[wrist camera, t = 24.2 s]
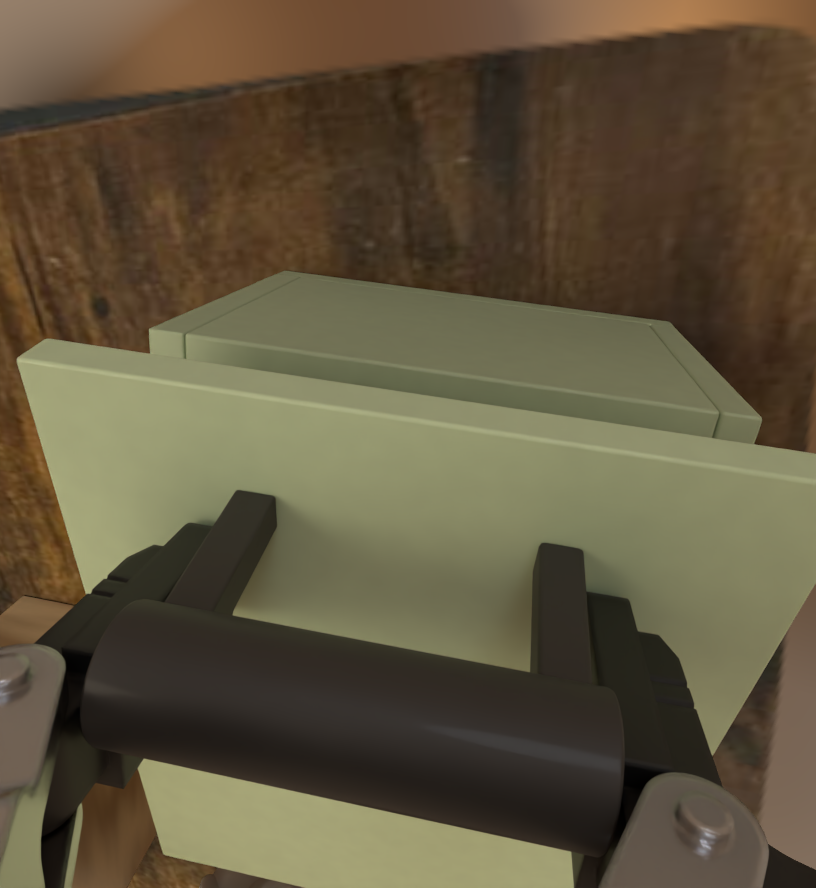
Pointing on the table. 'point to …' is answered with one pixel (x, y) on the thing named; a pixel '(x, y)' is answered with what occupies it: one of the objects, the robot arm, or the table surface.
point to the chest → (465, 352)
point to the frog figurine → (239, 881)
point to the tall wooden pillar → (105, 807)
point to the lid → (399, 609)
